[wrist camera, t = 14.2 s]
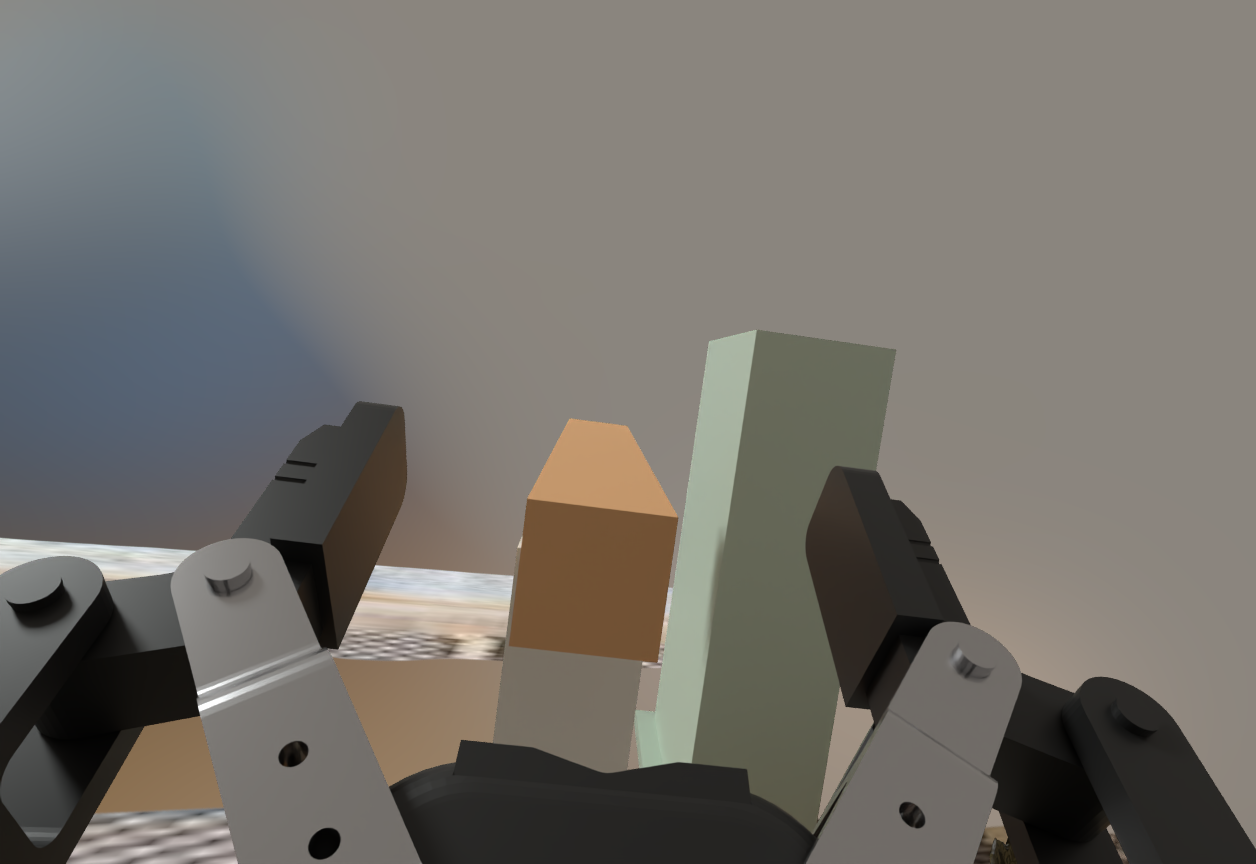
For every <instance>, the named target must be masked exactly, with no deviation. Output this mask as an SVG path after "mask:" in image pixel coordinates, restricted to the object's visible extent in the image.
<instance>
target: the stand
mask: <svg viewBox="0 0 1256 864" xmlns="http://www.w3.org/2000/svg"><path fill="white" fill-rule="evenodd" d="M895 354H896V350H895V349H888V348H881V347H874V346H867V345H860V344H852V343H846V342H839V341H832V340H825V339H818V338H810V337H804V336H797V335H789V334H782V333H776V332H768V331H762V330H754V331H750V332H746V333H742V334H738V335H734V336H729V337H725V338H721V339H717V340H713V341H709V346H708V352H707V359H706V366H705V373H704V380H703V388H702V394H701V401H700V408H699V414H698V421H697V428H696V435H695V442H694V449H693V456H692V463H691V470H690V477H689V484H688V491H687V497H686V504H685V511H684V518H683V525H682V532H681V539H680V546H679V552H678V559H677V566H676V573H675V580H674V587H673V594H672V601H671V607H670V614H669V621H668V628H667V635H666V642H665V649H664V656H663V663H662V670H661V676H660V683H659V690H658V697H657V704H656V711H655V712H652V711H641V710H636V712H635V719H634V724H635V733H636V742H637V751H638V760H639V768H644V767H651V766H657V765H663V764H669V763H675V762H683V763H693V764H703V765H713V766H723V767H733V768H742V769H747V772H748V780H749V788H750V793H752V794H754V795H757V796H759V797H761V798H763V799H765V800H767V801H769V802H771V803H773V804H775V805H776V806H778V807H779V808H781V809H782V810H784V811H786V812H787V813H789V814H790V815H791V816H793V817H794V818H795V819H796V820H797V821H799V822H800V823H801V824H802V825H804V826H805V827H806V828H807V829H808V830H809V831H810V832H811V833H812V831H813V829H814V828H815V826H816V824H817V819H818V813H819V807H820V801H821V795H822V789H823V783H824V776H825V770H826V765H827V759H828V753H829V747H830V741H831V735H832V729H833V723H834V717H835V712H836V706H837V700H838V694H839V688H840V683H839V680H838V676H837V672H836V668H835V664H834V661H833V657H832V653H831V649H830V645H829V642H828V638H827V634H826V630H825V626H824V623H823V619H822V615H821V611H820V607H819V604H818V600H817V596H816V592H815V588H814V585H813V581H812V577H811V573H810V569H809V566H808V562H807V558H806V550H805V542H806V534H807V529H808V526H809V523H810V520H811V518H812V515H813V513H814V510H815V508H816V505H817V503H818V500H819V498H820V495H821V493H822V490H823V488H824V485H825V483H826V480H827V478H828V476H829V473H830V471H831V470H832V469H833V467H835V466H843V467H851V468H859V469H866V470H874V471H876V467H877V461H878V455H879V449H880V443H881V437H882V432H883V426H884V420H885V413H886V408H887V402H888V395H889V390H890V383H891V378H892V372H893V366H894V360H895Z"/></svg>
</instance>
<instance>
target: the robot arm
mask: <svg viewBox="0 0 1256 864" xmlns="http://www.w3.org/2000/svg"><path fill="white" fill-rule="evenodd" d="M405 440H406V439H405V420H404V412H403V409H402V407H399V406H391V405H384V404H377V403H369V402H362V401H359V402H357V403H356V404H355V406H354V407H353V409H352V410H351V412H350V413H349V415H348V417H347V418H346V420H345V421H344V423H343V424H342V426H341V427H339V426H331V425H323V426H321V427H320V428H318V429H317V430H315V431H314V432H312V433H311V434H309V435H308V436H306V437H305V438H303V439H302V440H300V441H299V443H298V444H297V446H296V447H295V448H294V450H293V451H292V453H291V454H290V456H289V457H288V458H287V462H286V464H283V466H282V467H281V468H280V470H279V471H278V473H277V474H276V476H275V480H272V481H271V482H270V484H269V485H268V487H267V488H266V490H265V491H264V492H263V494H262V495H261V497H260V498H259V500H258V501H257V502H256V504H255V505H254V507H253V508H252V510H251V511H250V512H249V514H248V515H247V517H246V518H245V519H244V521H243V522H242V524H241V525H240V526H239V528H238V529H237V531H236V532H235V534H234V535H233V536H232V538H231V539H228V540H224V541H220V542H216V543H213V544H211V545H208V546H206V547H204V548H201V549H200V550H198V551H196V552H194V553H193V554H191V555H190V556H189V557H188V558H186V559H185V560H184V561H183V562H182V563H181V564H180V565H179V566H178V568H177V569H176V571H175V572H173V573H168V574H162V575H155V576H147V577H139V578H131V579H122V580H114V581H106V582H105V579H104V577H103V575H102V572H101V571H100V569H99V567H97V566H96V565H95V564H94V563H92V562H91V561H89V560H86V559H83V558H79V557H72V556H57V557H48V558H43V559H38V560H35V561H31V562H28V563H25V564H22V565H20V566H17V567H15V568H13V569H10V570H8V571H6V572H4V573H3V574H1V575H0V864H66V862H67V860H68V859H69V857H70V855H71V853H72V852H73V850H74V848H75V847H76V845H77V843H78V841H79V840H80V838H81V836H82V834H83V833H84V831H85V829H86V827H87V826H88V824H89V822H90V820H91V819H92V817H93V815H94V813H95V812H96V810H97V808H98V806H99V805H100V803H101V801H102V799H103V798H104V796H105V794H106V792H107V791H108V789H109V787H110V785H111V784H112V782H113V780H114V779H115V777H116V775H117V773H118V772H119V770H120V768H121V766H122V765H123V763H124V761H125V759H126V758H127V756H128V754H129V752H130V751H131V749H132V747H133V745H134V744H135V742H136V740H137V738H138V737H139V735H140V733H141V731H142V730H143V728H144V726H148V725H154V724H159V723H165V722H170V721H175V720H180V719H186V718H191V717H197V716H201V720H202V724H203V728H204V732H205V736H206V740H207V744H208V748H209V751H210V755H211V759H212V763H213V767H214V771H215V775H216V779H217V783H218V787H219V790H220V794H221V798H222V802H223V806H224V810H225V814H226V818H227V822H228V826H229V830H230V833H231V837H232V841H233V845H234V849H235V853H236V857H237V861H238V864H973V863H974V860H975V857H976V854H977V851H978V848H979V845H980V842H981V839H982V836H983V833H984V830H985V827H986V824H987V821H988V818H989V815H990V812H991V809H992V808H993V809H995V810H998V811H999V813H1000V816H1001V819H1002V821H1003V824H1004V827H1005V830H1006V833H1007V835H1008V838H1009V841H1010V844H1011V847H1012V850H1013V852H1014V855H1015V858H1016V861H1017V864H1123V862H1122V860H1121V858H1120V856H1119V854H1118V852H1117V850H1116V848H1115V845H1114V843H1113V841H1112V839H1111V837H1110V835H1109V833H1108V831H1107V829H1106V828H1107V827H1108V826H1109V825H1110V824H1111V826H1112V828H1113V830H1114V832H1115V834H1116V836H1117V839H1118V841H1119V843H1120V845H1121V847H1122V849H1123V851H1124V853H1125V855H1126V857H1127V859H1128V862H1129V864H1256V849H1255V847H1254V846H1253V844H1252V843H1251V841H1250V839H1249V838H1248V836H1247V835H1246V833H1245V831H1244V830H1243V828H1242V827H1241V825H1240V823H1239V822H1238V820H1237V819H1236V817H1235V815H1234V814H1233V812H1232V811H1231V809H1230V807H1229V806H1228V804H1227V803H1226V801H1225V800H1224V798H1223V796H1222V795H1221V793H1220V792H1219V790H1218V788H1217V787H1216V786H1215V784H1214V782H1213V780H1212V779H1211V777H1210V776H1209V774H1208V772H1207V771H1206V769H1205V768H1204V766H1203V764H1202V763H1201V761H1200V760H1199V759H1198V756H1197V755H1196V753H1195V752H1194V750H1193V748H1192V747H1191V745H1190V744H1189V742H1188V741H1187V739H1186V737H1185V736H1184V734H1183V733H1182V731H1181V729H1180V728H1179V726H1178V725H1177V723H1176V722H1175V721H1174V719H1173V718H1172V717H1171V716H1170V715H1169V713H1168V712H1167V711H1166V710H1165V709H1164V708H1163V707H1162V706H1161V705H1160V704H1158V703H1157V702H1156V701H1155V700H1153V699H1152V698H1151V697H1150V696H1148V695H1147V694H1145V693H1144V692H1142V691H1141V690H1139V689H1137V688H1135V687H1134V686H1131V685H1129V684H1127V683H1125V682H1122V681H1119V680H1117V679H1113V678H1108V677H1094V678H1090V679H1088V680H1087V681H1085V682H1084V683H1083V684H1082V686H1081V687H1080V688H1079V689H1078V690H1077V691H1076V692H1075V693H1072V692H1070V691H1067V690H1064V689H1062V688H1059V687H1056V686H1054V685H1051V684H1048V683H1046V682H1043V681H1041V680H1038V679H1035V678H1033V677H1030V676H1028V675H1025V674H1023V673H1021V672H1020V668H1019V666H1018V664H1017V662H1016V660H1015V659H1014V657H1013V656H1012V655H1011V653H1010V652H1009V651H1008V650H1007V649H1006V648H1005V647H1004V646H1003V645H1002V644H1001V643H1000V642H999V641H997V640H996V639H995V638H994V637H992V636H991V635H989V634H988V633H986V632H984V631H982V630H980V629H978V628H976V627H973V626H971V625H970V623H969V621H968V619H967V617H966V614H965V612H964V610H963V608H962V606H961V604H960V602H959V600H958V598H957V596H956V594H955V591H954V589H953V587H952V585H951V583H950V581H949V579H948V577H947V575H946V573H945V571H944V569H943V567H942V565H941V564H939V558H938V556H937V554H936V552H935V550H934V548H933V547H932V546H930V544H931V542H930V539H929V537H928V535H927V533H926V531H925V529H924V527H923V525H922V523H921V521H920V520H919V519H918V518H917V517H916V516H915V515H914V514H913V513H912V512H911V511H910V510H909V508H908V507H907V506H906V505H905V504H904V503H903V502H901V501H899V500H892V499H890V497H889V495H888V493H887V490H886V488H885V486H884V484H883V481H882V479H881V477H880V475H879V473H878V472H877V471H874V470H866V469H859V468H851V467H843V466H835V467H833V469H832V470H831V471H830V473H829V476H828V478H827V480H826V483H825V485H824V488H823V490H822V493H821V495H820V498H819V500H818V503H817V505H816V508H815V510H814V513H813V515H812V518H811V520H810V523H809V526H808V529H807V534H806V542H805V550H806V558H807V562H808V566H809V569H810V573H811V577H812V581H813V585H814V588H815V592H816V596H817V600H818V604H819V607H820V611H821V615H822V619H823V623H824V626H825V630H826V634H827V638H828V642H829V645H830V649H831V653H832V657H833V661H834V664H835V668H836V672H837V676H838V680H839V683H840V687H841V691H842V694H843V698H844V702H845V706H846V707H852V708H862V709H870V710H871V713H872V717H873V720H874V723H873V725H872V726H871V728H870V729H869V731H868V733H867V735H866V736H865V738H864V740H863V742H862V744H861V745H860V747H859V749H858V751H857V753H856V755H855V756H854V758H853V760H852V762H851V764H850V765H849V767H848V769H847V771H846V773H845V774H844V776H843V778H842V780H841V782H840V783H839V785H838V787H837V789H836V791H835V792H834V794H833V796H832V798H831V800H830V802H829V803H828V805H827V807H826V809H825V811H824V812H823V814H822V816H821V817H820V819H819V821H818V823H817V824H816V826H815V828H814V829H813V831H812V833H811V832H810V831H809V830H808V829H807V828H806V827H805V826H804V825H802V824H801V823H800V822H799V821H797V820H796V819H795V818H794V817H793V816H791V815H790V814H789V813H787V812H786V811H784V810H782V809H781V808H779V807H778V806H776V805H775V804H773V803H771V802H769V801H767V800H765V799H763V798H761V797H759V796H757V795H754V794H752V793H750V788H749V780H748V772H747V769H742V768H733V767H723V766H713V765H703V764H693V763H683V762H675V763H669V764H663V765H657V766H651V767H644V768H638V769H632V770H626V771H620V772H614V773H603V772H599V771H596V770H593V769H590V768H588V767H585V766H582V765H580V764H577V763H574V762H572V761H569V760H566V759H563V758H561V757H558V756H555V755H553V754H550V753H547V752H544V751H542V750H539V749H536V748H534V747H526V746H516V745H506V744H496V743H487V742H486V743H485V742H477V741H467V740H461V742H460V747H459V751H458V756H457V760H456V762H455V763H450V764H445V765H440V766H436V767H433V768H430V769H426V770H423V771H421V772H418V773H416V774H413V775H411V776H409V777H406V778H404V779H402V780H400V781H399V782H397V783H395V784H393V785H392V786H389V787H388V785H387V782H386V780H385V778H384V775H383V773H382V771H381V769H380V766H379V764H378V762H377V759H376V757H375V755H374V752H373V750H372V748H371V745H370V743H369V741H368V738H367V736H366V734H365V731H364V729H363V727H362V725H361V722H360V720H359V718H358V715H357V713H356V711H355V709H354V706H353V704H352V701H351V699H350V697H349V695H348V692H347V690H346V688H345V685H344V683H343V681H342V678H341V676H340V674H339V672H338V669H337V667H336V664H335V662H334V660H333V658H332V656H331V654H330V652H329V650H328V649H327V648H329V649H339V646H340V644H341V642H342V639H343V637H344V635H345V633H346V630H347V628H348V626H349V624H350V621H351V619H352V617H353V615H354V612H355V610H356V608H357V605H358V603H359V601H360V599H361V596H362V594H363V592H364V590H365V587H366V585H367V583H368V580H369V578H370V576H371V574H372V571H373V569H374V567H375V565H376V562H377V560H378V558H379V555H380V553H381V551H382V549H383V546H384V544H385V542H386V539H387V537H388V535H389V533H390V530H391V528H392V526H393V524H394V521H395V519H396V517H397V515H398V512H399V510H400V508H401V505H402V502H403V499H404V495H405V489H406V483H407V460H406V441H405Z"/></svg>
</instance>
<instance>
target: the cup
mask: <svg viewBox="0 0 1256 864" xmlns="http://www.w3.org/2000/svg"><path fill="white" fill-rule="evenodd" d="M990 864H1017V861H1016V858H1015V855H1014V852H1013V850H1012V847H1011V844H1010V841H1009V838H1008V839H1007V842H1006V845H1005V844H1004V843H1003V842H1001V841H999V840H997V839H996V838H995V839H994V841H993V845H992V849H991V853H990Z"/></svg>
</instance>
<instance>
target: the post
mask: <svg viewBox="0 0 1256 864" xmlns="http://www.w3.org/2000/svg"><path fill="white" fill-rule="evenodd" d="M522 537H523V536H522ZM521 545H522V538H521V540H520V543H519V545H518V547H517V556H516V563H515V571H514V579H513V587H512V595H511V603H510V611H509V619H508V627H507V635H506V643H505V651H504V659H503V667H502V676H501V683H500V691H499V699H498V707H497V715H496V723H495V731H494V739H493V743H496V744H506V745H516V746H526V747H534V748H536V749H539V750H542V751H544V752H547V753H550V754H553V755H555V756H558V757H561V758H563V759H566V760H569V761H572V762H574V763H577V764H580V765H582V766H585V767H588V768H590V769H593V770H596V771H599V772H603V773H614V772H620V771H626V770H627V766H628V759H629V752H630V745H631V738H632V731H633V724H634V717H635V710H636V703H637V696H638V689H639V682H640V675H641V668H642V661H637V660H628V659H620V658H611V657H602V656H593V655H584V654H575V653H566V652H557V651H548V650H539V649H531V648H522V647H513V646H509V640H510V632H511V624H512V616H513V608H514V600H515V592H516V584H517V576H518V569H519V561H520V553H521Z"/></svg>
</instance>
